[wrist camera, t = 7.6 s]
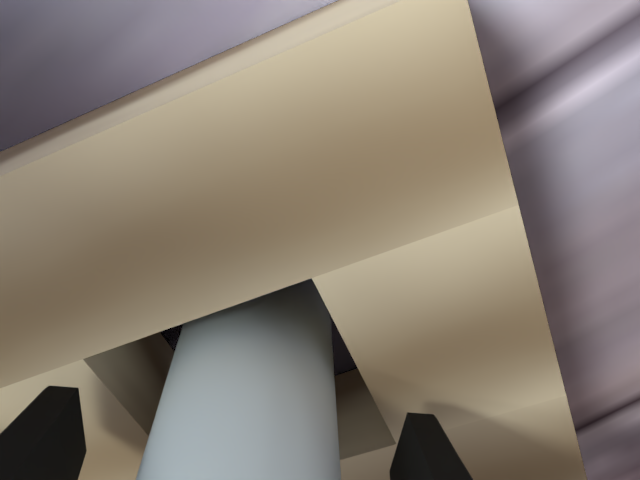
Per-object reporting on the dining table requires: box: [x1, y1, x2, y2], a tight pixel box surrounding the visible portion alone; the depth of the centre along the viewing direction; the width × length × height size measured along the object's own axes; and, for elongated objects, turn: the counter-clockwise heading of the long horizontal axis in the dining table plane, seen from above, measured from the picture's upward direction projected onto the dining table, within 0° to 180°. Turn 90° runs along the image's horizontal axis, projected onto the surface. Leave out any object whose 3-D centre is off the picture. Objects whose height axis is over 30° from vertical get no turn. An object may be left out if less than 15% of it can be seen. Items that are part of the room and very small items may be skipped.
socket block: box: [0, 0, 587, 480], centre depth 14 cm, size 15×15×5 cm
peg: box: [136, 279, 341, 480], centre depth 12 cm, size 4×4×8 cm
